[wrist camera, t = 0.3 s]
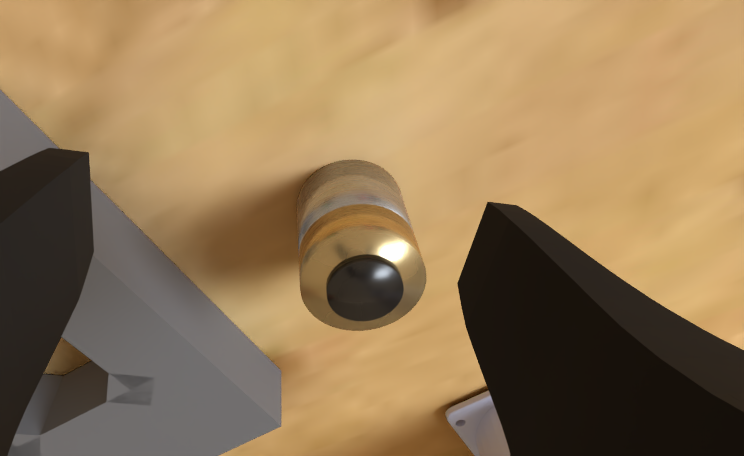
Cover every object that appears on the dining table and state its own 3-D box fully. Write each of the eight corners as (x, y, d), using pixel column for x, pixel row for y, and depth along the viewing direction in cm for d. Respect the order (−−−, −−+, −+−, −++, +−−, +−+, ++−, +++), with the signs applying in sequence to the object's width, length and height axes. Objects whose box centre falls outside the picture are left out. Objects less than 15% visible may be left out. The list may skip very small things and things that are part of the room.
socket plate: (281, 370, 27) (281, 426, 24) (74, 470, 29) (55, 531, 26) (-10, 80, 18) (-55, 121, 15) (-277, 254, 20) (-354, 315, 18)
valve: (418, 219, 23) (449, 304, 19) (330, 264, 24) (341, 356, 20) (371, 140, 21) (393, 218, 17) (275, 192, 22) (275, 279, 17)
